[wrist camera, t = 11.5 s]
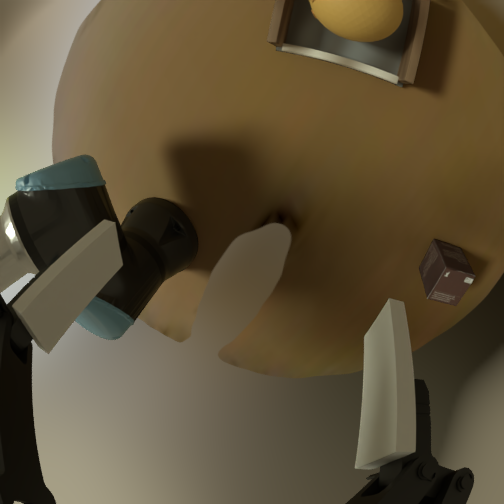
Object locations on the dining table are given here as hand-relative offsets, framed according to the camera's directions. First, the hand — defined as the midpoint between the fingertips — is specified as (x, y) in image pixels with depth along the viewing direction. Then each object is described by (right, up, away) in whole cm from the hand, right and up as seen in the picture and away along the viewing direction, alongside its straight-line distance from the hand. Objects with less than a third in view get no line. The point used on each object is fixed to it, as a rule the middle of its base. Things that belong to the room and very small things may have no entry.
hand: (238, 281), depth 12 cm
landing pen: (+13, +30, +9) cm, 34 cm away
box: (+30, 0, +24) cm, 39 cm away
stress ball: (+13, +30, +9) cm, 33 cm away
